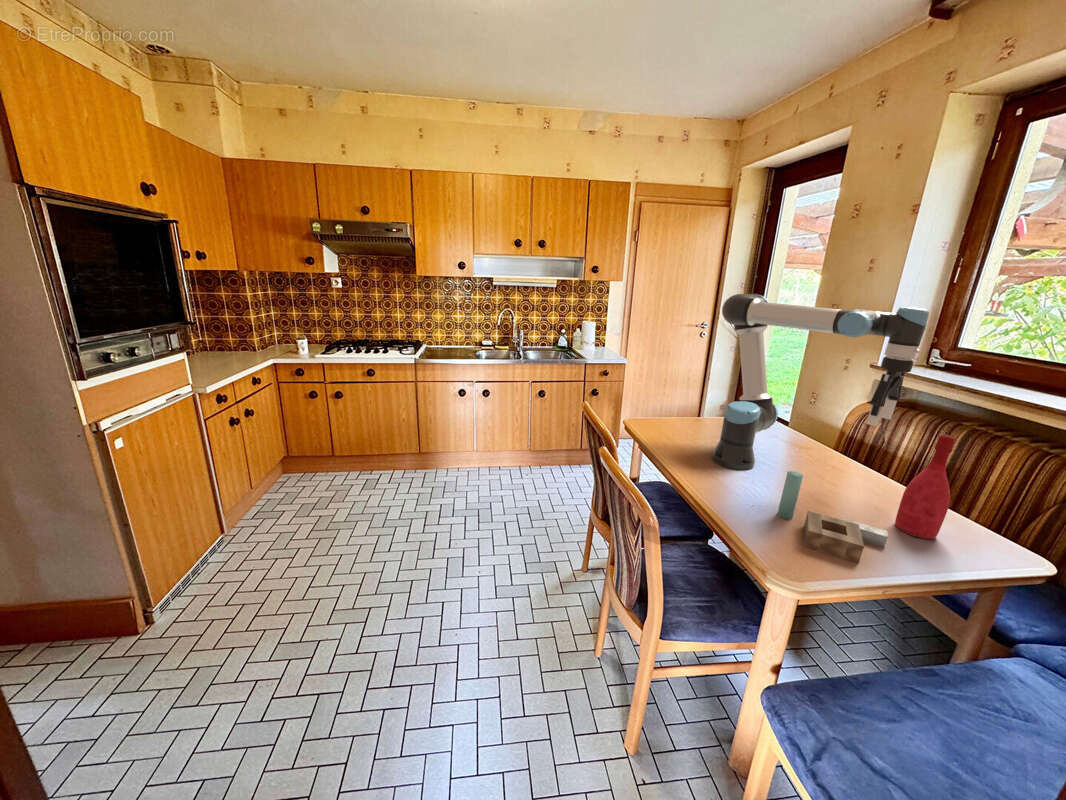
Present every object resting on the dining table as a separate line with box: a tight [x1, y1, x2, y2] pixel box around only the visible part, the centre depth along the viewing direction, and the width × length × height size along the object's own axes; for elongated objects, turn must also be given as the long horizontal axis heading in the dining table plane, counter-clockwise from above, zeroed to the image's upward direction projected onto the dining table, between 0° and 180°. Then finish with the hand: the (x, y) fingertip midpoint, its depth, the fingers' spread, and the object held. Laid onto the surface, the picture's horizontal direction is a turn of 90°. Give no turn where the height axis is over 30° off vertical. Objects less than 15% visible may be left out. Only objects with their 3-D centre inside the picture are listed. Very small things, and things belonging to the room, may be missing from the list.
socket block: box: [803, 510, 865, 564], centre depth 116 cm, size 12×12×5 cm
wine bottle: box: [894, 434, 956, 540], centre depth 121 cm, size 10×10×30 cm
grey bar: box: [842, 517, 889, 548], centre depth 120 cm, size 10×4×4 cm, turn 54°
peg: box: [776, 470, 804, 520], centre depth 127 cm, size 4×4×14 cm
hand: (878, 421), depth 140 cm, fingers open, 13 cm apart
